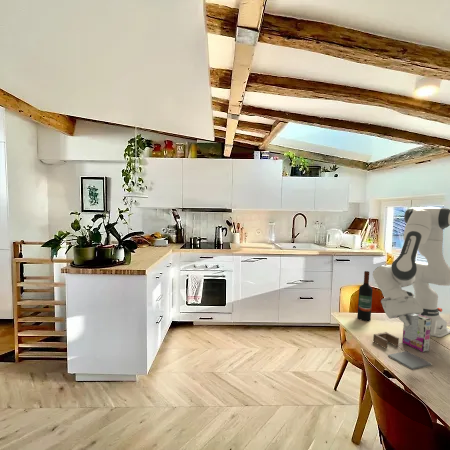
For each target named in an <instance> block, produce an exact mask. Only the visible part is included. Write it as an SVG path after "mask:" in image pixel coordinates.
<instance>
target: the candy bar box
mask: <svg viewBox="0 0 450 450" xmlns="http://www.w3.org/2000/svg"><path fill="white" fill-rule="evenodd" d="M405 319H406V317H405ZM431 320H432V319H431V318H428V317H425V316H422V315H419V319H418V321H419V324H418V331H417V339H413V340H409V339H407V338H405V337H404V336H405V324H404V323H403V327H402V328H403V329H402V341H401V343H402V344H404V345H405V346H409V347H411V348H413V349H415V350H417V351H419V352H422V353H427V352H430V344H431V336H430V333H431Z"/></svg>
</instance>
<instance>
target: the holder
mask: <svg viewBox="0 0 450 450" xmlns="http://www.w3.org/2000/svg"><path fill="white" fill-rule="evenodd" d="M399 340H400V338H399V337H397V336H395V335H394V334H391V333H390V332H387V331H384V332H379V333H374V334H373V339H372V342H373V341H374V342H373V343H375V342H376V343H378V344H379V346H380V345H381V346H380V347H382V346H383V347H382V348H384V347H385V348H384V349H388V343H389V342H390V343H389V344H391V343H392V345H393V344H394V346H395V347H398V346H399V342H400V341H399ZM376 343H375V344H376ZM378 344H377V345H378Z"/></svg>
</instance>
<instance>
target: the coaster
mask: <svg viewBox="0 0 450 450" xmlns="http://www.w3.org/2000/svg"><path fill="white" fill-rule="evenodd" d="M387 355H388V356H387V357H389V356H390V357H391V359H392V358H393V359H392V360H394V361H396V362H397V361H398V362H397V363H400V365H403V366H404V367H407V368H409V369H411V370H417V369H418V370H419V369H421V368H425V367H426V368H427V367H429V366H432V363H431V362H429V361H427V360H426V359H423V358H421V357H419V356H417V355H416V354H414V353H412V352H409V351H407V350H404V351H400V352H395V353H391V354H387ZM390 357H389V358H390Z"/></svg>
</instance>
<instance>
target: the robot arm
mask: <svg viewBox="0 0 450 450" xmlns="http://www.w3.org/2000/svg"><path fill="white" fill-rule="evenodd" d="M403 219H404V222H405V227H404V232H403V245H402V248H401V250H400V252H399V256H397V258H395V259H394V261H393V262H392V263H391V266H387V265H383V264H382V265H380V266H377V267H376V268H375V269H374V270H373V272H372V279H373V280H374V283H375V284H376V286H377V287H378V290H380V291H381V293H382V294H381V295H382V296H383V297H384V298H381V300H380V304H381V305H382V308H383V310H384V313H385V315H386V316H387V318H388V319H396V318H397V319H399V320H400V321H401V322H402V323H403V325H404V324H405V325H406V326H410V325H411V323H410V322H409V321H407V320H406V319H405V317H406V314H408V313H414V314H417V315H422V316H425V317H428V318H431V319H432V320H431V333H430V337H436V338H442V337H444V336H446V335H449V334H450V328H448V327H447V320H446V319H445V318H443V317H442V316H441V315H440V313H442V312H443V308H441V307H438V305H439V304H438V303H439V296H438V293H437V292H436V291H435V290H434V289H433V288H432V287H431V285H430V284H432V285H434V286H435V285H436V286H443V287H447V286H448V287H449V286H450V266H449V265H448V264H447V261H446V260H445V258H444V255H443V245H444V244H443V243H444V230H445V229H446V228H448V227H449V226H450V208H447V207H436V206H427V207H425V206H422V207H415V206H414V207H409V208H408V209H406V210H405V212H404V216H403ZM418 253H419V254H420V255H421V256H422V257H424V258H425V260H426V262H422V261H418V260H417V261H416V257H417V254H418ZM409 286H412V288H413V291H414V293H413V292H412V291H408V290H405V289H403V288H406V287H409ZM418 324H419V321H418Z"/></svg>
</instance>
